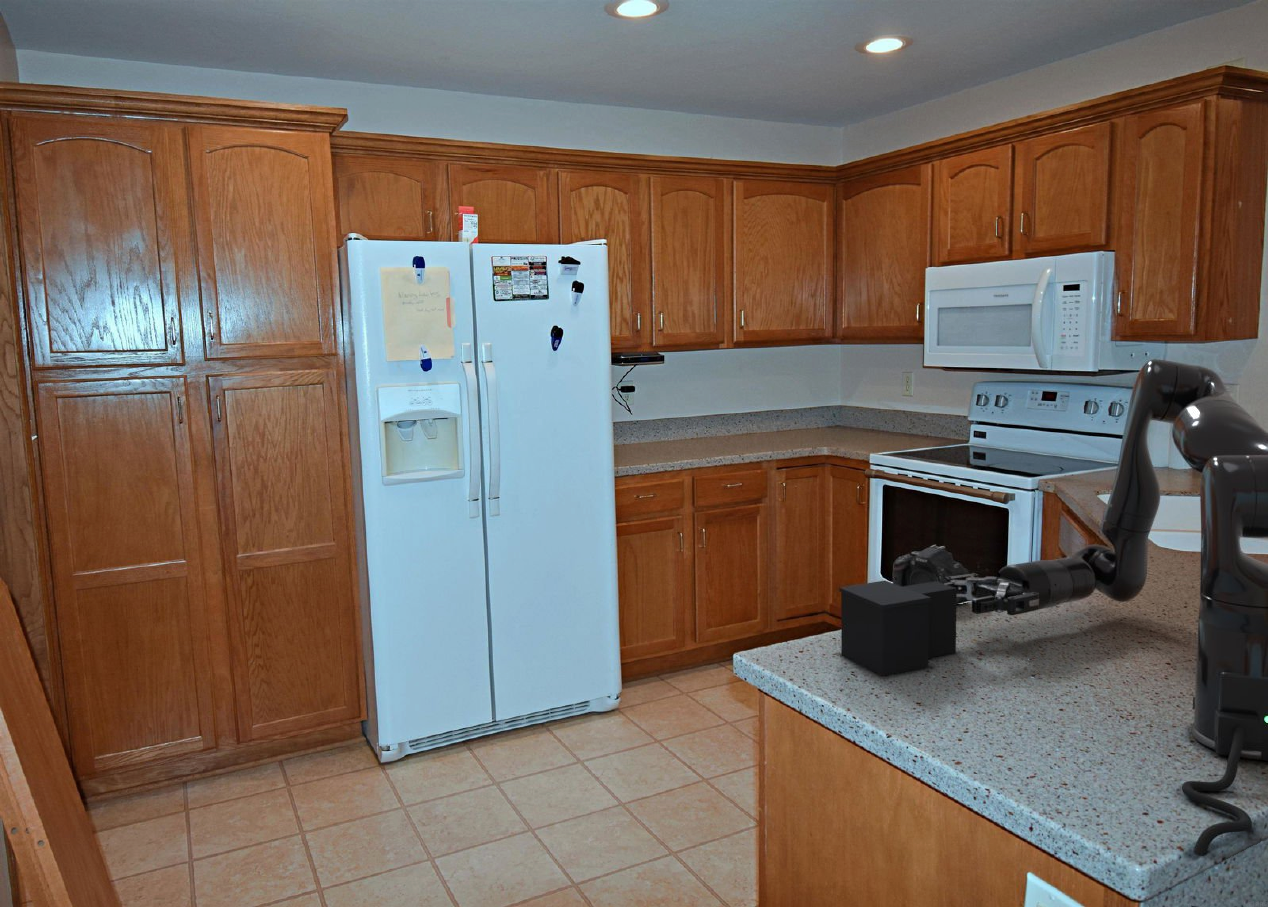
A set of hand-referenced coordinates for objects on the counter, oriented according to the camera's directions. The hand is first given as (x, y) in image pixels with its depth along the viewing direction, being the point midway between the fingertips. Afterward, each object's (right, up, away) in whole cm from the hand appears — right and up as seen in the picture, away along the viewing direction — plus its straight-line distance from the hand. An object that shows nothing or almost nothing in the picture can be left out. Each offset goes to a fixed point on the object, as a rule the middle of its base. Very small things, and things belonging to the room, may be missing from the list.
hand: (953, 599), depth 135 cm
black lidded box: (-12, -8, -4) cm, 15 cm away
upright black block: (-4, -8, -1) cm, 9 cm away
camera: (+5, -4, +25) cm, 26 cm away
